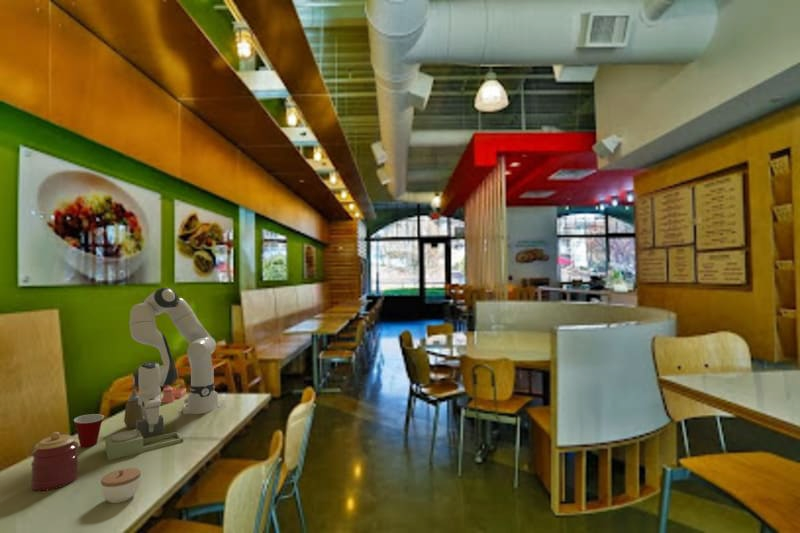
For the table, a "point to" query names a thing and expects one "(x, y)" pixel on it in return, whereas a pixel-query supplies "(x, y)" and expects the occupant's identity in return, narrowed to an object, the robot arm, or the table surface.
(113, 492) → the lidded jar
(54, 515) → the table surface
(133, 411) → the squeeze bottle
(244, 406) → the table surface
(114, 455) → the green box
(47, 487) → the canister
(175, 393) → the pottery
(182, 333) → the robot arm
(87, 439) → the plastic cup
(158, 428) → the tall grey box
